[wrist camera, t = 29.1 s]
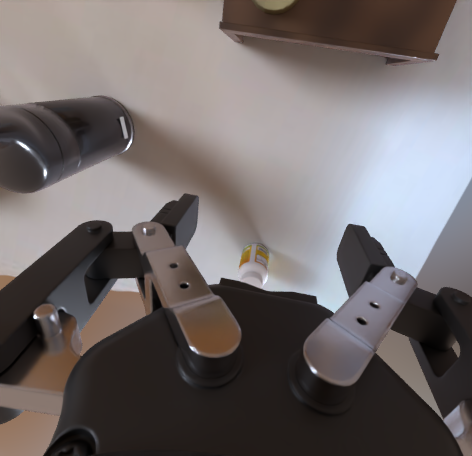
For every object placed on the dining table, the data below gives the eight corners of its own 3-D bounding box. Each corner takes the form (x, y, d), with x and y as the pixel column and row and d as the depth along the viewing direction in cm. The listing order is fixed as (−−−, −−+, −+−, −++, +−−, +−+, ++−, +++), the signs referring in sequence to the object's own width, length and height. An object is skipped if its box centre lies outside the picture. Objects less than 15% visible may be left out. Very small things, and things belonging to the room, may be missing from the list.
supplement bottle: (243, 264, 56) (236, 297, 47) (241, 242, 53) (234, 273, 45) (269, 264, 55) (267, 298, 47) (268, 242, 52) (266, 273, 44)
